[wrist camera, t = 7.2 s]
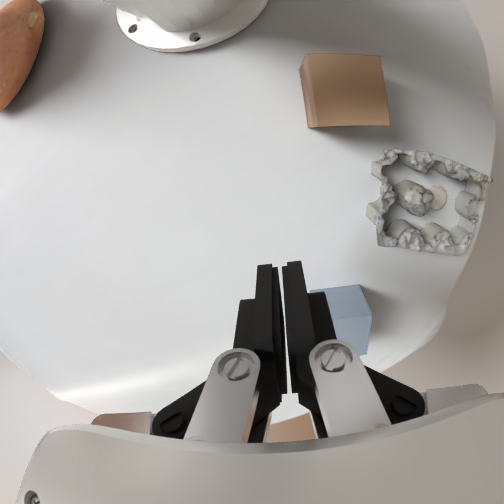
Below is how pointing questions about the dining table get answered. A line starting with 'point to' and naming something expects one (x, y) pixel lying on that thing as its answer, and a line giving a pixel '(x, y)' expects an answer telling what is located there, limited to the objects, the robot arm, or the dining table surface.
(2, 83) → the ceramic jug
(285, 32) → the dining table surface
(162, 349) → the dining table surface
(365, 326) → the slate-blue block
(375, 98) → the walnut block
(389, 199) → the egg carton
